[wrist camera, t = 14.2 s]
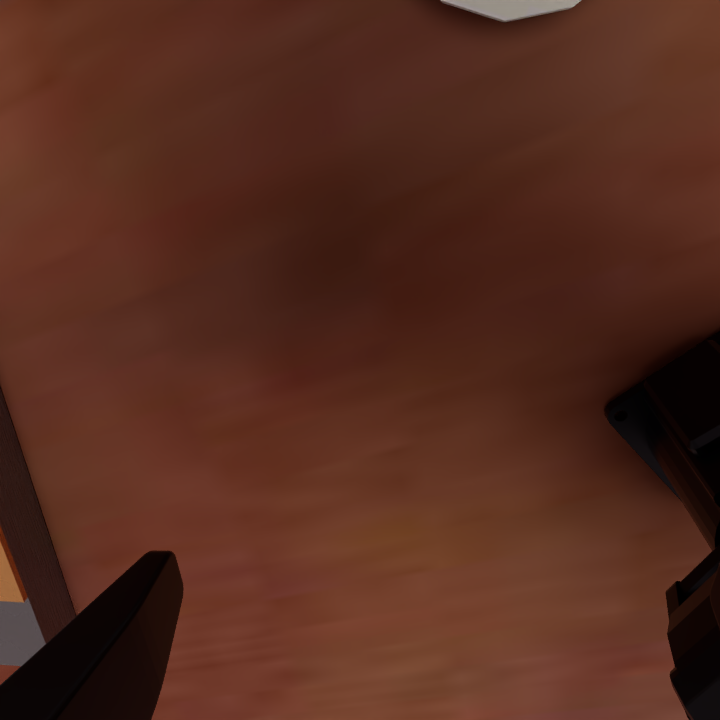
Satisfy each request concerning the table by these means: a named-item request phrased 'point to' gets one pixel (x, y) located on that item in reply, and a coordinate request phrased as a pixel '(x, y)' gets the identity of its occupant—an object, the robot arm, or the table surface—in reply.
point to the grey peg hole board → (25, 560)
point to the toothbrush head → (512, 7)
